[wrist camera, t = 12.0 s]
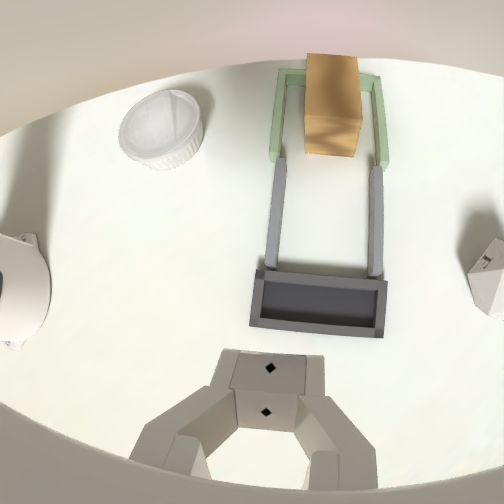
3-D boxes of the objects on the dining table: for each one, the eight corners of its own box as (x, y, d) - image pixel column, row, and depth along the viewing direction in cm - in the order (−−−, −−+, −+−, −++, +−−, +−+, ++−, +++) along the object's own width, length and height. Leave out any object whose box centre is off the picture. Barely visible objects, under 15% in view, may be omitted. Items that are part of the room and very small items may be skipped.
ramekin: (227, 135, 41) (218, 112, 35) (164, 194, 40) (147, 176, 35) (178, 99, 44) (166, 77, 39) (122, 150, 43) (105, 131, 38)
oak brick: (305, 153, 38) (304, 114, 31) (308, 94, 40) (306, 53, 33) (353, 157, 37) (362, 119, 30) (351, 97, 39) (356, 57, 32)
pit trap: (251, 326, 34) (248, 326, 33) (258, 271, 36) (256, 269, 34) (379, 338, 32) (383, 338, 30) (384, 282, 33) (387, 280, 32)
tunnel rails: (267, 268, 36) (264, 262, 33) (278, 169, 38) (276, 157, 35) (375, 277, 33) (382, 273, 31) (377, 178, 36) (382, 166, 33)
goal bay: (271, 162, 38) (268, 151, 36) (280, 80, 42) (278, 68, 39) (384, 171, 36) (389, 161, 34) (377, 87, 39) (380, 76, 37)
